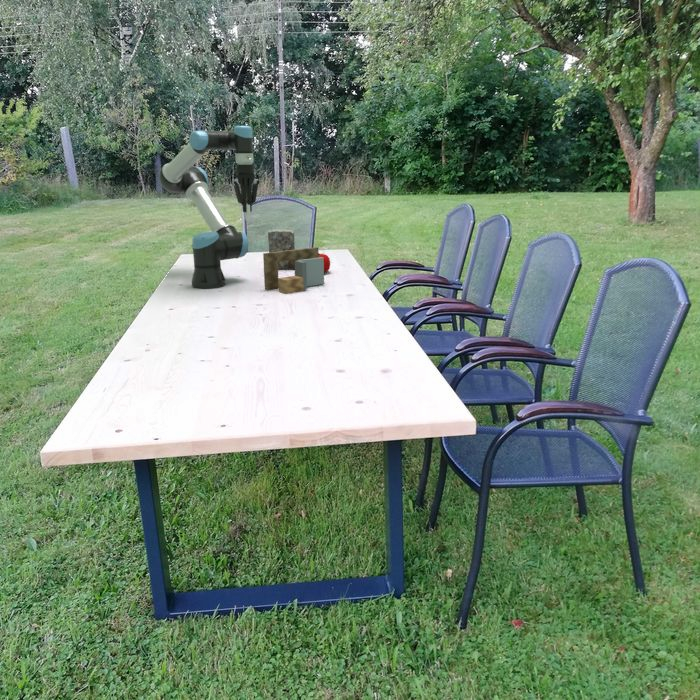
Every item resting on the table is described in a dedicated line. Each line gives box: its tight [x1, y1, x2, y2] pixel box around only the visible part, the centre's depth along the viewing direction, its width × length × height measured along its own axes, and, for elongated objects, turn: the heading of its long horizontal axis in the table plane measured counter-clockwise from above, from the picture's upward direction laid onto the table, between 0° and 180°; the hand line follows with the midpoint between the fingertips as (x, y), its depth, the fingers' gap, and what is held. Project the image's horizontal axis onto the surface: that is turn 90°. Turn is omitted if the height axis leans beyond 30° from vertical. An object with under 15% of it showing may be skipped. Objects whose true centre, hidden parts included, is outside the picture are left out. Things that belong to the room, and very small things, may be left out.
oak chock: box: [278, 275, 305, 295], centre depth 274 cm, size 9×6×6 cm, turn 128°
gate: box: [294, 257, 325, 291], centre depth 280 cm, size 15×6×12 cm, turn 128°
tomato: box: [319, 252, 331, 274], centre depth 313 cm, size 11×13×10 cm
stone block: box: [267, 229, 296, 271], centre depth 322 cm, size 13×7×20 cm, turn 96°
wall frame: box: [262, 246, 320, 291], centre depth 283 cm, size 28×2×16 cm, turn 128°
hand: (247, 219), depth 278 cm, fingers closed
